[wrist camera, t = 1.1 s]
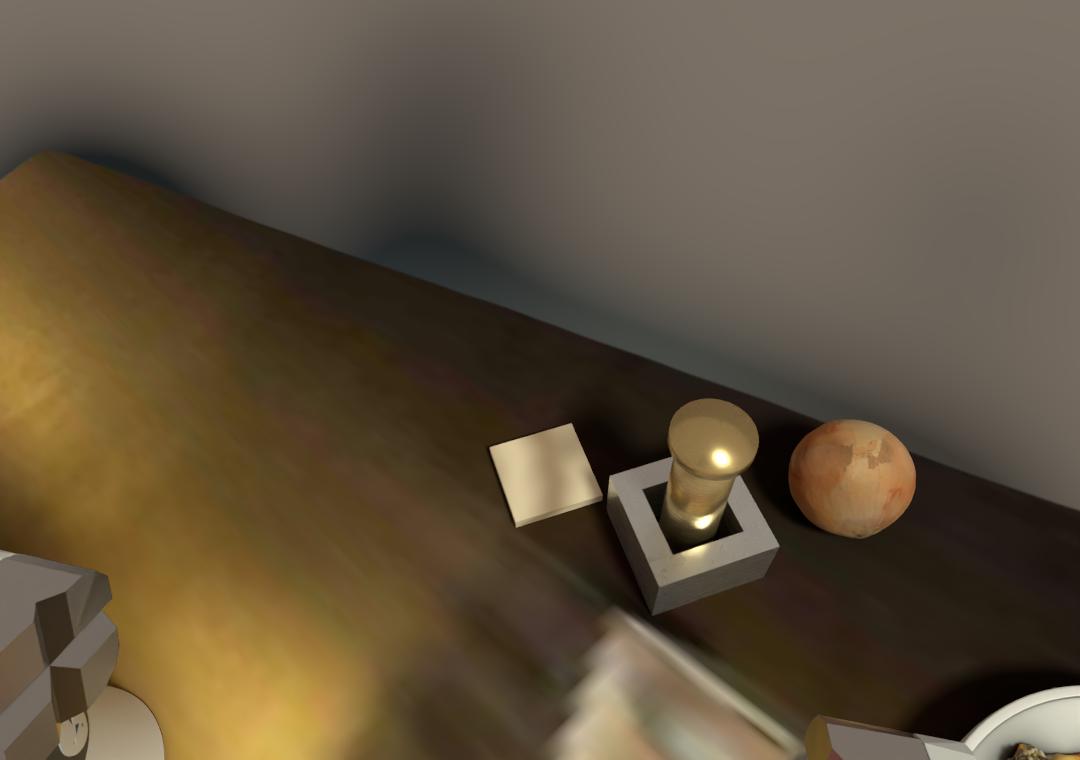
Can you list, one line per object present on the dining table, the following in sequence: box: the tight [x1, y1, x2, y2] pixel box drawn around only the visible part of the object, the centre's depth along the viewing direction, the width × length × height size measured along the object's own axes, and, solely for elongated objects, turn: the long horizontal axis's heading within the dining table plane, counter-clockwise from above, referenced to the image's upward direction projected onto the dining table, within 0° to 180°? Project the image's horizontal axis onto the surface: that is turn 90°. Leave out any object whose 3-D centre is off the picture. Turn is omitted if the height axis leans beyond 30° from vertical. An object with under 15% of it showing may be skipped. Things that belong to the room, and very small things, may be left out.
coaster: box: [490, 423, 603, 527], centre depth 70 cm, size 8×8×1 cm
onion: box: [789, 420, 916, 538], centre depth 64 cm, size 10×10×10 cm
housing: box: [606, 457, 780, 616], centre depth 64 cm, size 10×10×6 cm
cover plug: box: [659, 399, 759, 555], centre depth 59 cm, size 6×6×17 cm
